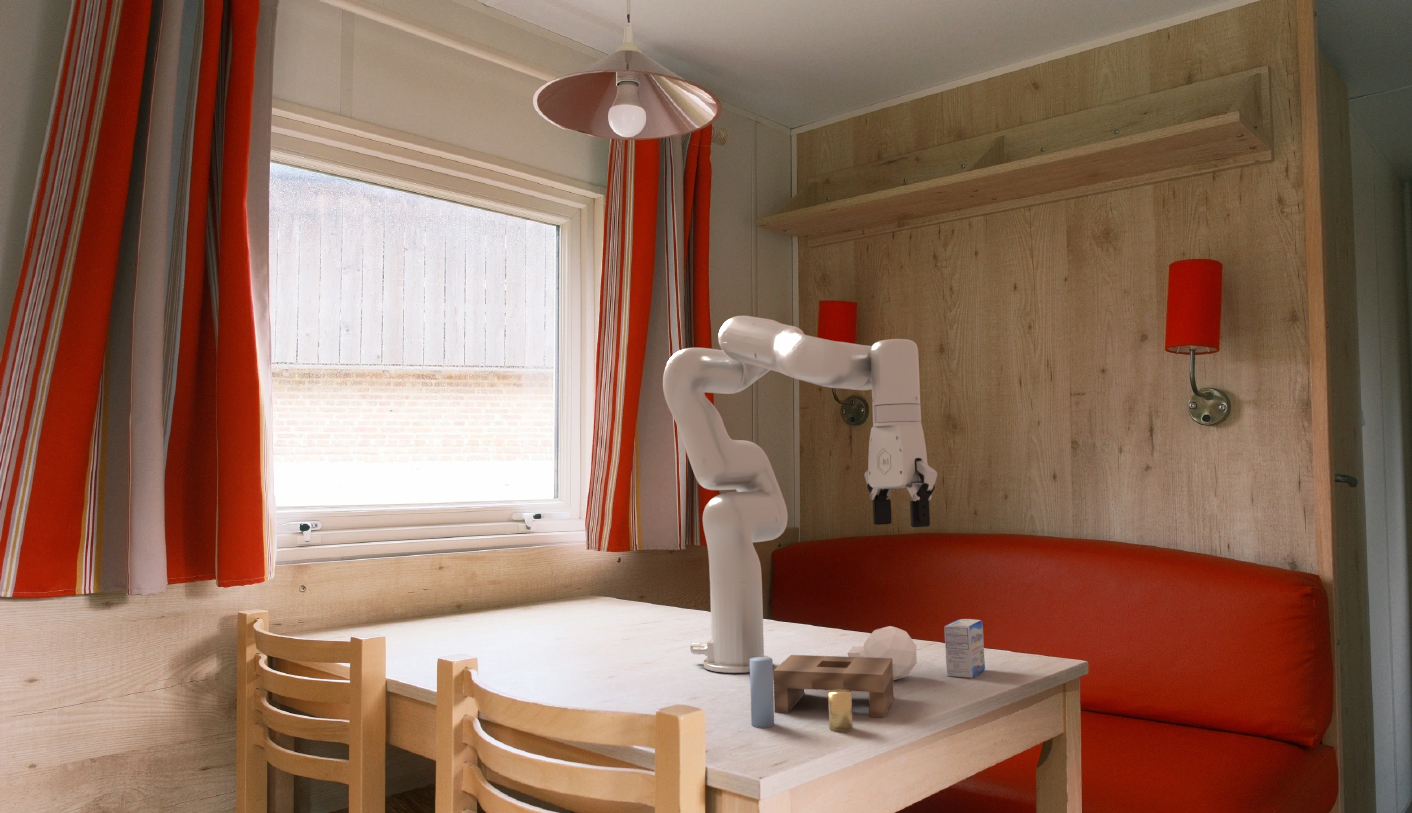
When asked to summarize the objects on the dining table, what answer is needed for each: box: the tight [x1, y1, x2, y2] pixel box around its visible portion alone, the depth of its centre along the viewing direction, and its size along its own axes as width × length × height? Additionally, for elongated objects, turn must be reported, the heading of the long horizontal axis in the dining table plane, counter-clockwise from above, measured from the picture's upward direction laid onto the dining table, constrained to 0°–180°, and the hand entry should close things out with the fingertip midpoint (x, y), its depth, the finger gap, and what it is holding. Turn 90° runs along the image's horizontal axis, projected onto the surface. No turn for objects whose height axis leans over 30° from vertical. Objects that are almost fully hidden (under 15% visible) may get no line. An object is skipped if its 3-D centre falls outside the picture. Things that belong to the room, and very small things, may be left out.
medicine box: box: [944, 618, 986, 679], centre depth 161 cm, size 8×4×9 cm, turn 148°
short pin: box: [827, 689, 854, 733], centre depth 128 cm, size 3×3×5 cm
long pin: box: [749, 656, 775, 729], centre depth 132 cm, size 3×3×9 cm
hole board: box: [773, 654, 895, 719], centre depth 142 cm, size 16×12×6 cm
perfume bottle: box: [847, 625, 918, 681], centre depth 159 cm, size 9×9×12 cm
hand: (901, 525), depth 148 cm, fingers open, 9 cm apart
